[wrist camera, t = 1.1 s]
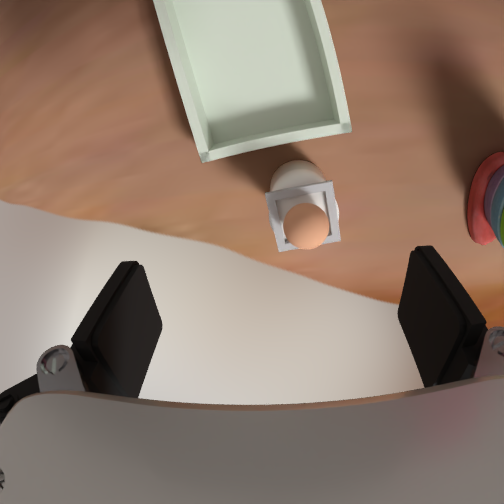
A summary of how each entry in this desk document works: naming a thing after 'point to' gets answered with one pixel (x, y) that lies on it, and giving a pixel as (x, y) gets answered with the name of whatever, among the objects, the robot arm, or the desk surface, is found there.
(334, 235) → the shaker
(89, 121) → the desk surface
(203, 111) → the tray
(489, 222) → the stacking bear
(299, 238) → the ball
